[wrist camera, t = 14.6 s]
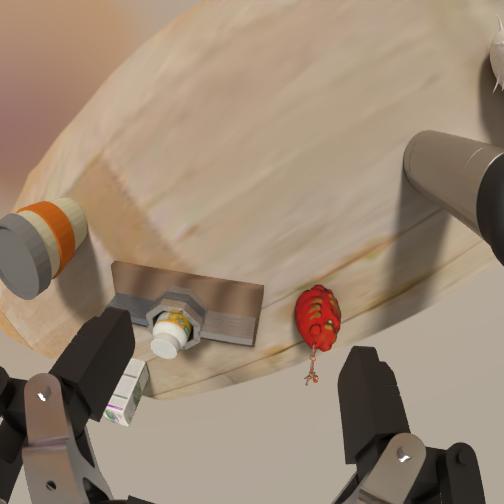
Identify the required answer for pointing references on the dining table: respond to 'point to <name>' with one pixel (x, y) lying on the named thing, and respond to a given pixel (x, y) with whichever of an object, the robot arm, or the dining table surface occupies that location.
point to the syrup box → (127, 393)
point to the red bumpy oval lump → (317, 321)
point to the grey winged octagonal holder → (188, 316)
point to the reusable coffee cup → (39, 244)
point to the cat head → (498, 56)
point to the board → (207, 288)
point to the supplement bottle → (170, 334)
